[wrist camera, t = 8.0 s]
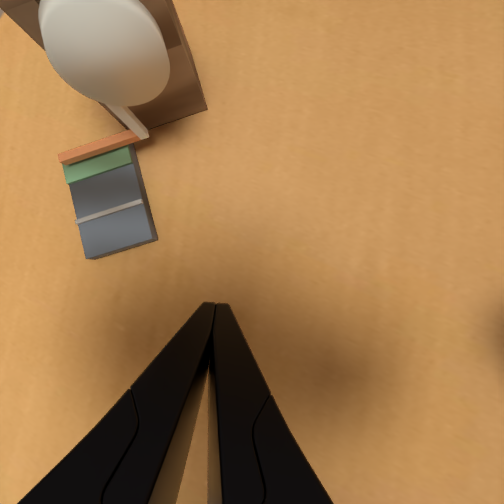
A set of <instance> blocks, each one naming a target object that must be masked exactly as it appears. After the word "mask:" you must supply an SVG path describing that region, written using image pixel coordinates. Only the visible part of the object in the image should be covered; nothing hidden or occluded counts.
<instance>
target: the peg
mask: <svg viewBox="0 0 504 504" xmlns="http://www.w3.org/2000/svg"><path fill="white" fill-rule="evenodd" d="M38 19H39V25H40V30H41V34H42V38H43V43H44V47H45V51H46V54H47V57H48V59H49V61H50V63H51V64H52V66H53V68H54V69H55V71H56V72H57V73H58V74H59V75H60V77H61V78H62V79H63V80H64V81H65V82H66V83H67V84H69V85H70V86H71V87H72V88H74V89H75V90H77V91H78V92H79V93H81V94H83V95H85V96H86V97H89V98H91V99H93V100H95V101H98V102H101V103H104V104H105V105H106V106H107V107H108V108H109V109H110V110H111V111H112V112H113V113H114V114H115V115H116V116H117V117H118V118H120V119H121V120H122V121H123V122H124V123H125V124H126V125H127V126H128V127H129V128H130V129H129V130H126V131H124V132H121V133H118V134H115V135H112V136H109V137H106V138H103V139H100V140H97V141H94V142H91V143H88V144H86V145H83V146H80V147H77V148H74V149H71V150H68V151H65V152H62V153H59V154H58V158H59V162H60V163H62V164H64V165H69V164H72V163H75V162H78V161H81V160H84V159H86V158H89V157H92V156H95V155H98V154H101V153H104V152H107V151H110V150H113V149H116V148H119V147H122V146H125V145H128V144H131V143H134V142H137V141H140V140H143V139H146V138H149V134H148V130H147V128H146V127H145V126H144V125H143V124H142V123H141V122H140V121H139V119H138V118H137V117H136V116H135V115H134V114H133V113H132V112H131V110H130V109H129V108H128V107H127V106H136V105H141V104H144V103H147V102H149V101H151V100H153V99H154V98H156V97H157V96H158V95H159V94H160V93H161V92H162V91H163V90H164V88H165V87H166V85H167V82H168V79H169V75H170V63H169V58H168V54H167V50H166V47H165V43H164V40H163V36H162V33H161V31H160V28H159V26H158V24H157V23H156V21H155V19H154V18H153V16H152V15H151V13H150V12H149V11H148V10H147V8H146V7H145V6H144V5H143V4H142V3H141V2H140V1H139V0H41V1H40V4H39V9H38Z"/></svg>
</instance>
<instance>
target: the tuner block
mask: <svg viewBox="0 0 504 504" xmlns="http://www.w3.org/2000/svg"><path fill="white" fill-rule="evenodd" d="M40 1H41V0H0V8H1V9H2V10H3V11H4V12H5V13H6V14H7V15H8V16H9V17H10V18H11V19H12V20H13V21H14V22H16V23H17V24H18V25H19V26H20V27H21V28H22V29H23V30H24V31H25V32H26V33H27V34H28V35H29V36H30V37H31V38H32V39H33V40H34V41H35V42H36V43H37V44H38V45H39V46H41V47H42V48H43V49H44V50H45V47H44V43H43V38H42V34H41V30H40V25H39V19H38V9H39V4H40ZM139 1H140V2H141V3H142V4H143V5H144V6H145V7H146V8H147V10H148V11H149V12H150V13H151V15H152V16H153V18H154V19H155V21H156V23H157V24H158V26H159V28H160V31H161V33H162V36H163V40H164V43H165V47H166V50H167V54H168V58H169V63H170V75H169V79H168V82H167V85H166V87H165V88H164V90H163V91H162V92H161V93H160V94H159V95H158V96H157V97H156V98H154V99H153V100H151V101H149V102H147V103H144V104H141V105H136V106H127V107H128V108H129V109H130V110H131V112H132V113H133V114H134V115H135V116H136V117H137V118H138V119H139V121H140V122H141V123H142V124H143V125H144V126H145V127H146V128H147V130H148V129H151V128H154V127H157V126H160V125H163V124H166V123H168V122H171V121H174V120H177V119H180V118H183V117H186V116H189V115H192V114H195V113H198V112H201V111H204V110H207V105H206V102H205V98H204V95H203V92H202V88H201V85H200V81H199V78H198V74H197V71H196V68H195V64H194V61H193V57H192V54H191V50H190V48H189V45H188V42H187V39H186V37H185V34H184V31H183V28H182V26H181V23H180V20H179V18H178V15H177V12H176V9H175V7H174V4H173V1H172V0H139ZM99 103H100V104H101V105H102V106H103V107H104V108H105V109H106V110H107V111H108V112H109V113H110V114H111V115H112V116H113V117H114V118H116V119H117V120H118V121H119V122H120V123H121V124H122V125H123V126H124V127H125V128H126V129H127V130H129V129H130V128H129V127H128V126H127V125H126V124H125V123H124V122H123V121H122V120H121V119H120V118H118V117H117V116H116V115H115V114H114V113H113V112H112V111H111V110H110V109H109V108H108V107H107V106H106V105H105V104H104V103H101V102H99ZM62 165H63V170H64V174H65V179H66V183H67V184H69V186H70V191H71V195H72V200H73V204H74V209H75V213H76V217H77V220H75V223H76V224H77V225H78V226H79V231H80V235H81V240H82V244H83V248H84V253H85V257H86V259H98V258H101V257H104V256H107V255H111V254H114V253H117V252H120V251H124V250H127V249H130V248H133V247H137V246H140V245H143V244H146V243H150V242H153V241H156V240H158V238H157V234H156V230H155V226H154V222H153V218H152V214H151V210H150V206H149V203H148V199H147V195H146V191H145V187H144V183H143V179H142V175H141V171H140V167H139V164H138V160H137V156H136V152H135V148H134V144H133V143H131V144H128V145H125V146H122V147H119V148H116V149H113V150H110V151H107V152H104V153H101V154H98V155H95V156H92V157H89V158H86V159H84V160H81V161H78V162H75V163H72V164H69V165H64V164H62Z"/></svg>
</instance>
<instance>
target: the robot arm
mask: <svg viewBox="0 0 504 504" xmlns="http://www.w3.org/2000/svg"><path fill="white" fill-rule="evenodd" d="M209 361H210V362H209ZM208 368H209V374H208ZM207 374H208V501H207V504H334V503H333V502H332V500H331V498H330V497H329V495H328V494H327V492H326V490H325V489H324V487H323V485H322V484H321V482H320V480H319V479H318V477H317V475H316V474H315V472H314V471H313V469H312V467H311V466H310V464H309V462H308V461H307V459H306V457H305V456H304V454H303V452H302V450H301V449H300V447H299V445H298V444H297V442H296V440H295V438H294V437H293V435H292V433H291V431H290V429H289V428H288V426H287V424H286V422H285V420H284V418H283V416H282V414H281V412H280V410H279V408H278V406H277V404H276V402H275V399H274V397H273V396H272V395H271V391H270V389H269V387H268V385H267V383H266V381H265V379H264V377H263V375H262V373H261V370H260V368H259V366H258V364H257V362H256V360H255V358H254V356H253V354H252V352H251V349H250V347H249V345H248V343H247V341H246V339H245V337H244V335H243V333H242V331H241V328H240V326H239V324H238V322H237V320H236V318H235V316H234V314H233V312H232V310H231V307H230V305H229V304H227V303H217V304H216V303H214V302H203V303H202V304H201V305H200V306H199V308H198V309H197V310H196V311H195V312H194V313H193V315H192V316H191V317H190V318H189V319H188V320H187V321H186V323H185V324H184V325H183V326H182V327H181V328H180V330H179V331H178V332H177V333H176V334H175V335H174V337H173V338H172V339H171V340H170V341H169V342H168V343H167V345H166V346H165V347H164V348H163V349H162V350H161V352H160V353H159V354H158V355H157V356H156V357H155V359H154V360H153V361H152V362H151V363H150V364H149V365H148V367H147V368H146V369H145V370H144V371H143V372H142V374H141V375H140V376H139V377H138V378H137V379H136V381H135V382H134V383H133V384H132V385H131V387H130V389H128V390H127V391H126V392H125V393H124V394H123V395H122V397H121V398H120V399H119V400H118V401H117V402H116V404H115V405H114V406H113V407H112V408H111V409H110V410H109V411H108V412H107V413H106V415H105V416H104V417H103V418H102V419H101V420H100V421H99V422H98V423H97V425H96V426H95V427H94V428H93V429H92V430H91V431H90V432H89V433H88V434H87V435H86V436H85V437H84V438H83V439H82V440H81V441H80V442H79V443H78V444H77V445H76V446H75V447H74V448H73V449H72V450H71V451H70V452H69V453H68V454H67V455H66V456H65V457H64V458H63V459H62V460H61V461H60V462H59V463H58V464H57V465H56V466H55V467H54V468H53V469H52V470H51V471H50V472H49V473H48V474H47V475H46V476H45V477H44V478H43V479H42V480H41V481H40V482H39V483H38V484H37V485H36V486H35V487H33V488H32V489H31V490H30V491H29V492H28V493H27V494H26V495H25V496H24V497H23V498H22V499H21V500H20V501H19V502H18V503H17V504H176V501H177V497H178V493H179V489H180V484H181V480H182V476H183V472H184V468H185V464H186V460H187V456H188V452H189V448H190V444H191V440H192V436H193V431H194V427H195V423H196V419H197V415H198V411H199V407H200V403H201V399H202V395H203V391H204V387H205V383H206V378H207Z"/></svg>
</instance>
